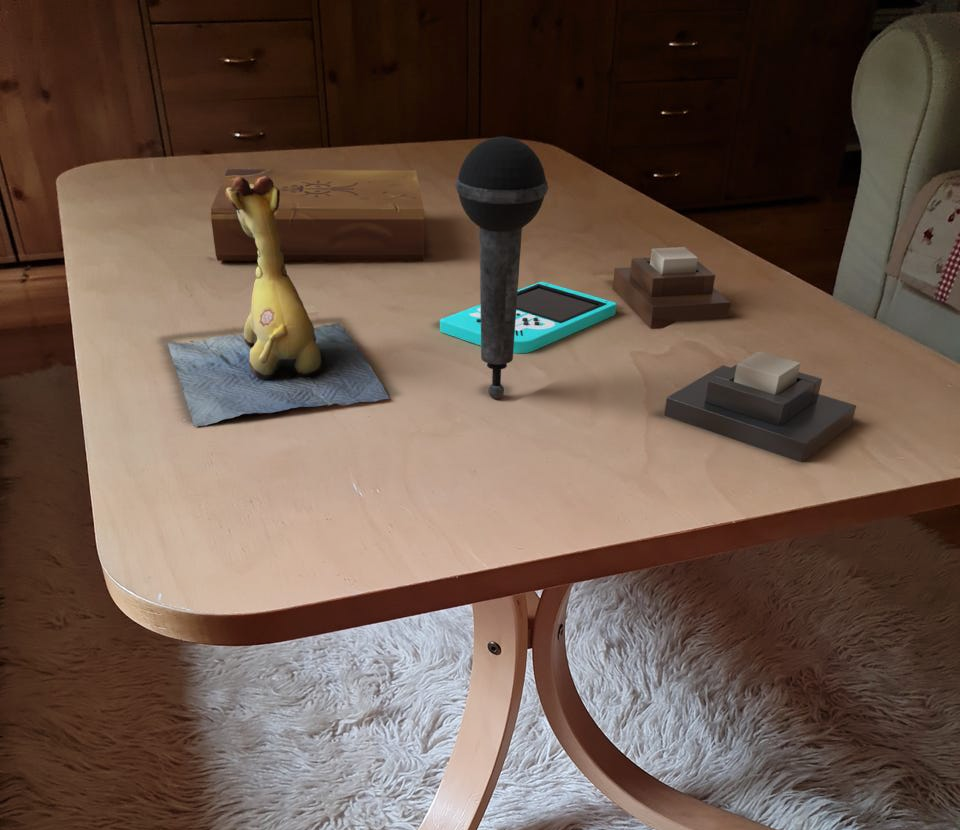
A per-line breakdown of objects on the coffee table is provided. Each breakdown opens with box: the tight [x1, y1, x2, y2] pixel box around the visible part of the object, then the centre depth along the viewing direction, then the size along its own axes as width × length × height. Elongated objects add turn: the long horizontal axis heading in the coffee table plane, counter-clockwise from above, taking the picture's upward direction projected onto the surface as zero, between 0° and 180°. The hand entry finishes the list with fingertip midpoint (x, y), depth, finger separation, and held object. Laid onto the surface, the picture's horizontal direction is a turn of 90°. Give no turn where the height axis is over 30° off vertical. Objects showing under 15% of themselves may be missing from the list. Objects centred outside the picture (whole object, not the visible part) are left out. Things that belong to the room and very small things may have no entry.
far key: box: [650, 246, 699, 274], centre depth 101 cm, size 4×4×2 cm
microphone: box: [455, 136, 549, 400], centre depth 79 cm, size 7×7×20 cm
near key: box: [734, 350, 801, 395], centre depth 79 cm, size 4×4×2 cm
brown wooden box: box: [210, 168, 425, 262], centre depth 118 cm, size 23×19×6 cm
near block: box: [663, 363, 857, 463], centre depth 80 cm, size 12×9×4 cm
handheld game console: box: [439, 281, 617, 354], centre depth 99 cm, size 10×16×1 cm, turn 139°
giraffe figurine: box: [166, 176, 390, 427], centre depth 83 cm, size 16×18×16 cm
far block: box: [612, 256, 731, 330], centre depth 102 cm, size 12×8×4 cm, turn 12°
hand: (930, 1), depth 86 cm, fingers closed
